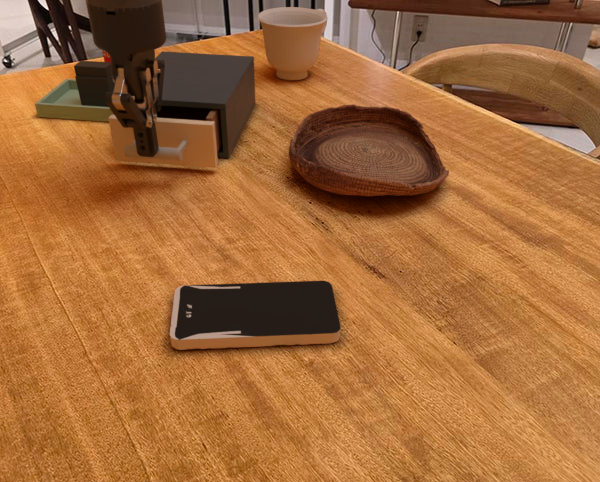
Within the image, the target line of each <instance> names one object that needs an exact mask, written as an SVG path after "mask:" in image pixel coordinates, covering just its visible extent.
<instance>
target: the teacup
mask: <svg viewBox="0 0 600 482" xmlns="http://www.w3.org/2000/svg"><path fill="white" fill-rule="evenodd" d="M256 18H257V20H258V21H259V22H260V25H261V29H262V35H263V43H264V49H265V50H264V51H265V56H266V59H267V62H268V64H269V65H270V66H271V67H272V68H273V69H274V70H276V73H275V76H276V77H277V78H279V79H281V80H284V81H300V80H304V79H306V78H307V77H308V75H309V72H308V70H310V69H311V68H312V67H314V65H315V64H316V62H317V61H318V58H319V53H320V46H321V40H322V39H321V38H322V35H323V34H324V33H325V31H326V28H327V25H328V14H327V12H326V10H324V9H323V8H316V9H314V8H308V7H300V6H299V7H297V6H286V7H285V6H282V7H273V8H267V9H265V10H262V11H260V12H259V13H258V15H257V17H256Z"/></svg>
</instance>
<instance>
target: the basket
mask: <svg viewBox="0 0 600 482" xmlns="http://www.w3.org/2000/svg"><path fill="white" fill-rule="evenodd" d="M288 157H289V161H290V162H289V163H290V164H291V165H292V167H293V168H294V170H296V172H297V173H298V174H299V175H300V176H301V178H303V179H304V180H305V181H306V182H307V183H309V184H310V185H312V186H313V187H315V188H317V189H319V190H322V191H325V192H328V193H331V194H336V195H342V196H361V197H375V196H378V197H379V196H397V197H398V196H399V197H400V196H417V195H422V194H426V193H429V192H432V191H435V189H437V188H438V187H439V186H440V185H442V183H444V181H445V180H446V179H447V178H448V176H449V173H450V170H449V169H447V168H446V166H444V164H443V162H442V159H441V157H440V155H439V153H438V151H437V148H436V145H435V144H434V143H433V142H432V140H431V139H430V137H429V135H428V134H427V133H426V132H425V131H424V126H423V124H422V123H421V122H420V121H419V120H418V119H417V118H415V117H414V116H413V115H412V114H411V113H409V112H407V111H405V110H401V109H400V108H395V107H391V106H381V107H380V106H361V105H356V104H343V105H339V106H337V107H332V106H331V107H327V108H324V109H322V110H317V111H315V112H313V113H310V114H308V115H307V116H306V117H304V118H303V119H302V120H301V121H300V124H299V125H298V127H297V129H296V131H294V133H293V135H292V138H291V141H290V142H289V147H288Z"/></svg>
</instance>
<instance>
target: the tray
mask: <svg viewBox="0 0 600 482" xmlns="http://www.w3.org/2000/svg"><path fill="white" fill-rule="evenodd" d="M34 107H35V110H36V114H37V117H38V118H48V119H61V120H75V121H76V120H77V121H92V122H104V123H105V122H107V123H109V120H108V118H109V117H110V116H111V115H114V114H113V112H112V111H111V110H110V108H109V107H98V106H83V105H81V101H80V96H79V92H78V87H77V83H76V78H65V79H64V80H62V81H61V82H60V83H59V84H57V85H56V86H55V87H54V88H53V89H51V90H50V91H49V92H48V93H46V94H45V95H44V96H43V97H41V98H40V99H39V100H37V101H36V102H35V103H34Z"/></svg>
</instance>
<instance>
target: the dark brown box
mask: <svg viewBox="0 0 600 482" xmlns="http://www.w3.org/2000/svg"><path fill="white" fill-rule="evenodd" d="M73 68H74V73H75V74H74V75H75V77H74V79H76V83H77V87H78V92H79V96H80V101H81V105H83V106H98V107H108V105H107V104H106V102H105V94H106V92H111V93H113V91H114V86H115V83H114V82H113V78H112V75H111V62H104V61H96V60H95V61H94V60H80V61H78V62H77V63H75V64H74V65H73Z"/></svg>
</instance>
